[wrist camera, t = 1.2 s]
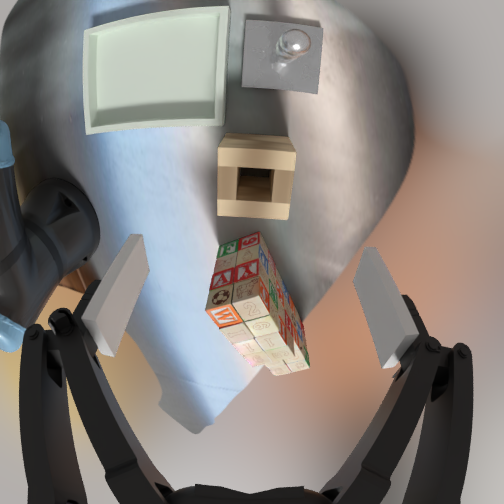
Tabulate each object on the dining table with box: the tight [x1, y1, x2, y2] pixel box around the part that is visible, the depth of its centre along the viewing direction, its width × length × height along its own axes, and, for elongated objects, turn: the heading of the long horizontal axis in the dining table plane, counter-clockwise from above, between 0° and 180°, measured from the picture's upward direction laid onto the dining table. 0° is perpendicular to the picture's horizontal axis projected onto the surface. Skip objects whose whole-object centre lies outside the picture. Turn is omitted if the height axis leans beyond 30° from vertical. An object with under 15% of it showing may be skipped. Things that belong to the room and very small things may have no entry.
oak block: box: [217, 133, 297, 220], centre depth 28 cm, size 7×7×7 cm
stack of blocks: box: [205, 232, 310, 376], centre depth 38 cm, size 21×6×12 cm, turn 23°
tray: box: [83, 6, 231, 135], centre depth 23 cm, size 17×14×2 cm
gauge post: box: [242, 20, 323, 94], centre depth 18 cm, size 8×8×12 cm
